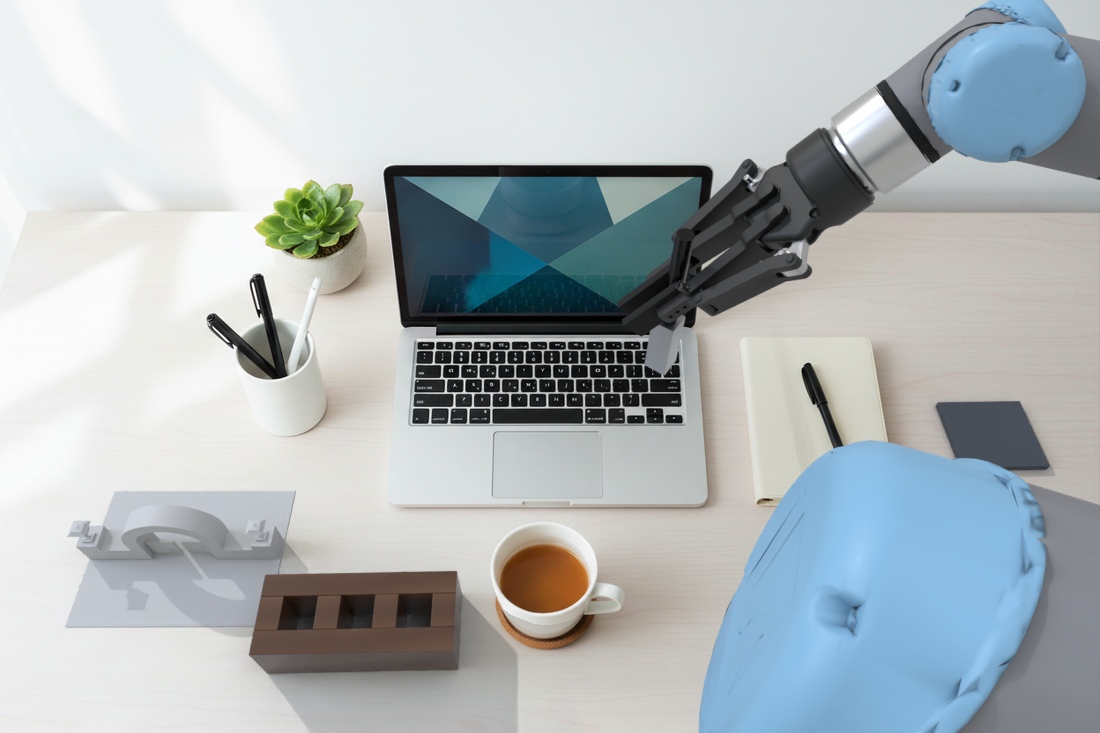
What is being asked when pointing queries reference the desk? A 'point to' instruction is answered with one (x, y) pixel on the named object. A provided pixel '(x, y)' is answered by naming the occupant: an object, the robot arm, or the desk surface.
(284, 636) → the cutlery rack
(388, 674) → the desk surface
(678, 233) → the rod topped stamp
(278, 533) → the grey arched handle
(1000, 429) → the felt mat
